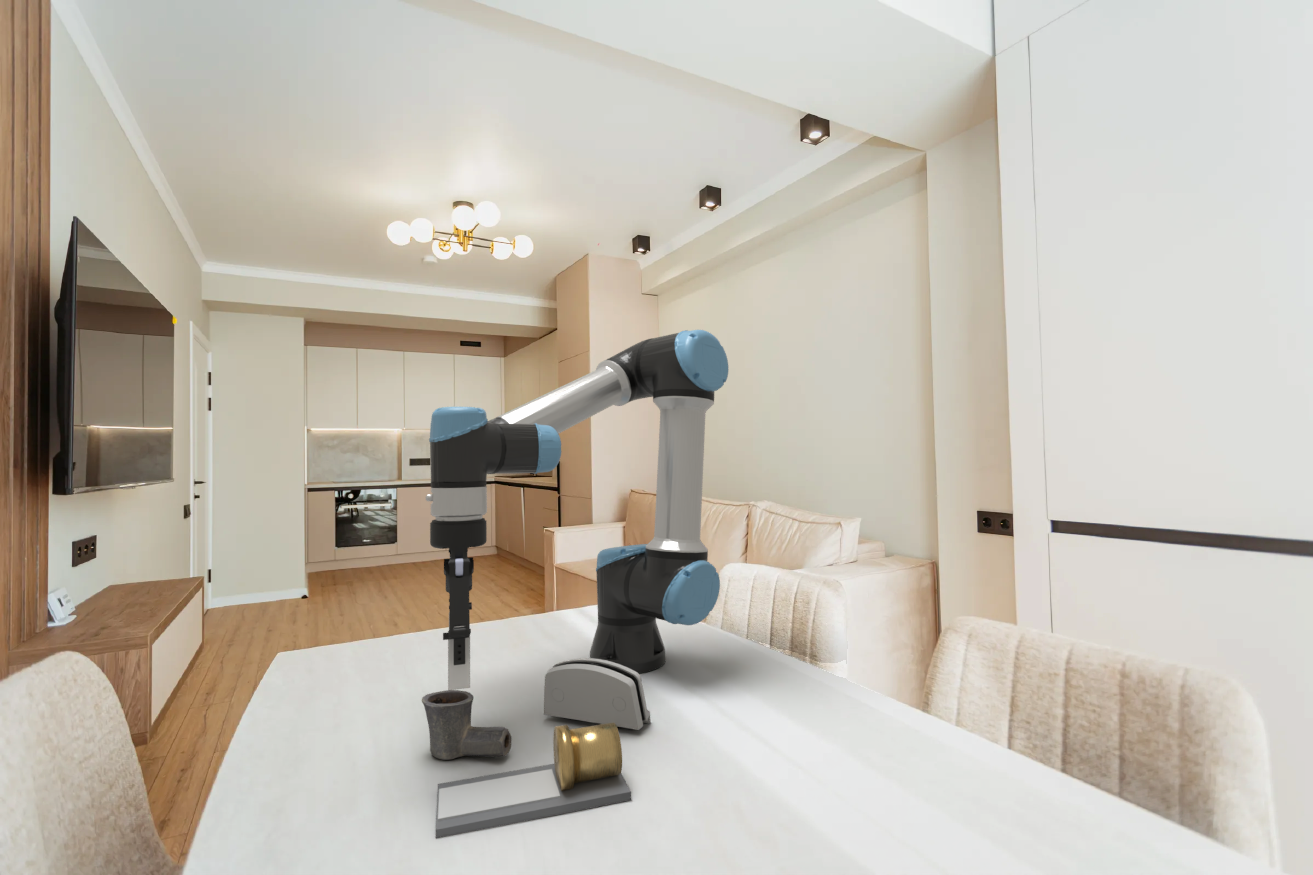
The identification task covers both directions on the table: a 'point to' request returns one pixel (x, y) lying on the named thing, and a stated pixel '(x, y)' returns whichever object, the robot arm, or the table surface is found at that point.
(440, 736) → the pipe
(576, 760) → the cylinder
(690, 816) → the table surface
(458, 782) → the base
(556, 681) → the grey napkin holder
